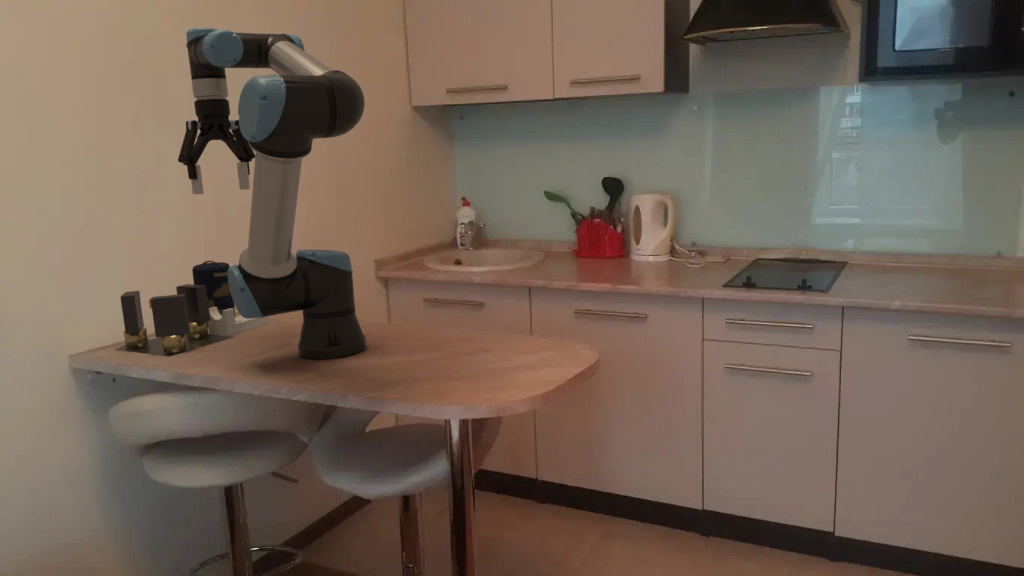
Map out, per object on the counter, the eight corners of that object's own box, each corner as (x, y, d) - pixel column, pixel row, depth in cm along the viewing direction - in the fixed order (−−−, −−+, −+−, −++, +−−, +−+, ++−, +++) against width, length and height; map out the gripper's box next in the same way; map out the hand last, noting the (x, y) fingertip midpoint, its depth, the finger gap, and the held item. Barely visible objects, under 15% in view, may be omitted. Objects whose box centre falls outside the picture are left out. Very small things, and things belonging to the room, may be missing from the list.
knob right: (215, 334, 199) (209, 284, 197) (198, 338, 195) (192, 288, 193) (195, 332, 203) (189, 283, 201) (179, 336, 199) (172, 286, 196)
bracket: (229, 340, 198) (225, 310, 197) (209, 338, 202) (206, 308, 200) (268, 328, 209) (265, 300, 208) (249, 326, 213) (246, 299, 211)
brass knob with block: (146, 347, 189) (138, 295, 187) (123, 349, 188) (115, 297, 186) (150, 340, 196) (143, 289, 194) (128, 342, 195) (121, 292, 193)
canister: (224, 320, 221) (217, 256, 217) (243, 324, 215) (236, 258, 211) (192, 328, 213) (184, 262, 210) (211, 331, 207) (202, 264, 204)
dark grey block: (192, 345, 188) (185, 293, 186) (189, 350, 184) (182, 296, 181) (159, 349, 187) (152, 296, 184) (155, 354, 182) (147, 300, 180)
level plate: (235, 339, 197) (234, 331, 196) (169, 359, 180) (168, 350, 180) (182, 334, 206) (180, 325, 206) (115, 352, 190) (113, 343, 190)
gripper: (242, 101, 195) (252, 187, 199) (153, 99, 174) (166, 196, 178) (264, 98, 191) (273, 187, 195) (175, 96, 170) (188, 195, 174)
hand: (222, 191), depth 186 cm, fingers open, 13 cm apart
